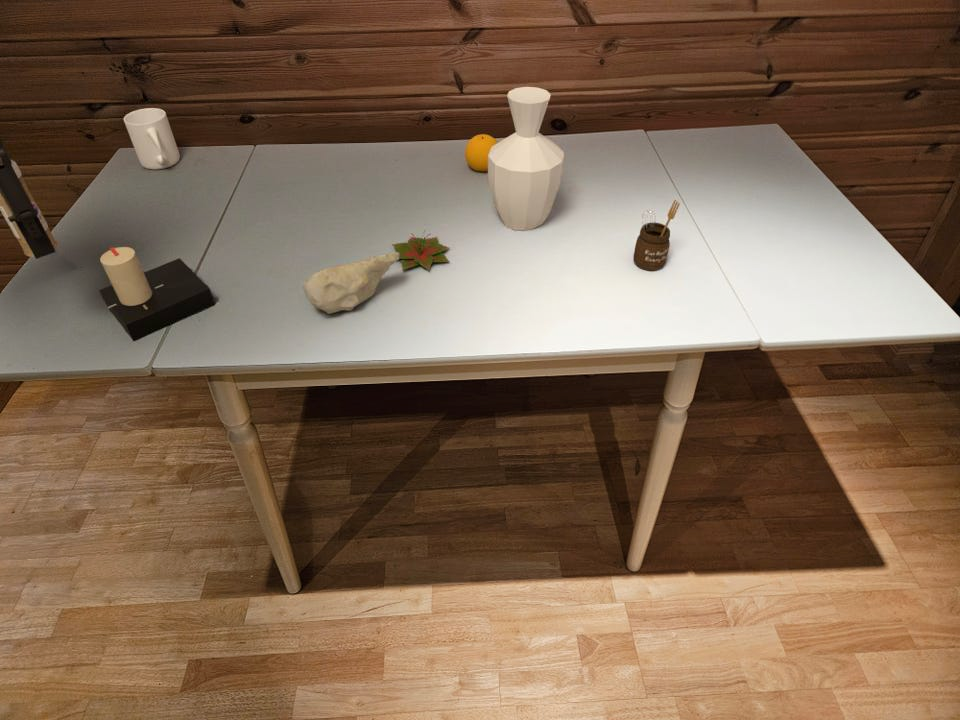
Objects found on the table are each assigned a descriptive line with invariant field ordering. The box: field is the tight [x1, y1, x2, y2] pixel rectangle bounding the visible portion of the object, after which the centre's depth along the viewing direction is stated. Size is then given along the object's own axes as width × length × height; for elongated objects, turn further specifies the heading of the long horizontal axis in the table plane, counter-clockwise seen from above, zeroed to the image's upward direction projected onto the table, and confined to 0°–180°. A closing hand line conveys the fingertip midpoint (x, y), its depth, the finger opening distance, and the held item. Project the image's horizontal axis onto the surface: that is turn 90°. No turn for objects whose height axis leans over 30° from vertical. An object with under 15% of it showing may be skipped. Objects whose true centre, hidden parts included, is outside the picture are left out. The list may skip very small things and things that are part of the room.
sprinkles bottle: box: [0, 159, 59, 259], centre depth 92 cm, size 5×5×13 cm
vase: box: [487, 86, 565, 232], centre depth 123 cm, size 14×14×25 cm
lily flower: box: [391, 230, 451, 272], centre depth 121 cm, size 12×12×5 cm
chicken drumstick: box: [301, 251, 400, 315], centre depth 110 cm, size 15×7×15 cm
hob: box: [98, 257, 216, 342], centre depth 110 cm, size 15×12×4 cm
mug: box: [123, 107, 181, 171], centre depth 145 cm, size 9×12×11 cm
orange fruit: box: [464, 133, 499, 172], centre depth 145 cm, size 8×8×8 cm
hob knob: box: [100, 246, 152, 306], centre depth 105 cm, size 5×5×8 cm
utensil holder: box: [633, 199, 681, 272], centre depth 116 cm, size 6×6×12 cm
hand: (39, 246), depth 96 cm, fingers closed on sprinkles bottle, 4 cm apart
